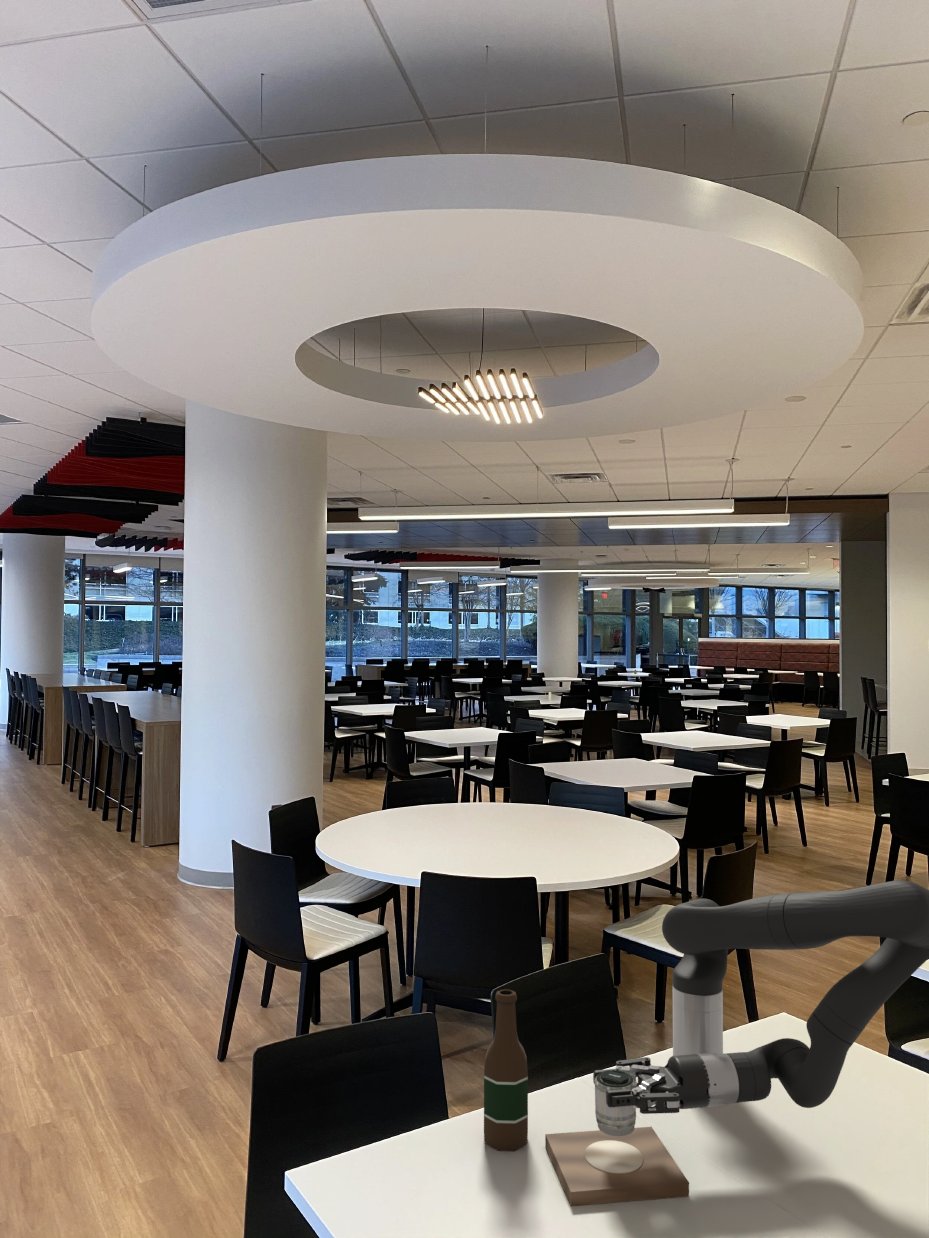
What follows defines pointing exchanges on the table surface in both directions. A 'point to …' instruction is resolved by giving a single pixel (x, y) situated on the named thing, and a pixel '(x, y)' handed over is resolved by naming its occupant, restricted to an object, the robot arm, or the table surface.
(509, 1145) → the beer bottle
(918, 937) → the robot arm
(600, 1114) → the camera lens
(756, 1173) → the table surface
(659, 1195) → the display stand
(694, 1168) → the table surface
